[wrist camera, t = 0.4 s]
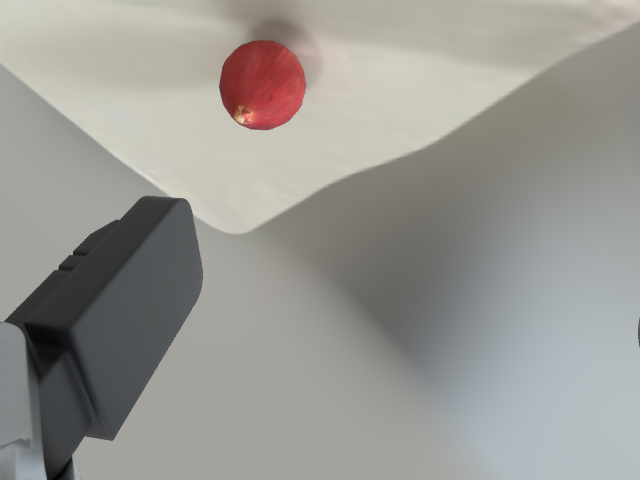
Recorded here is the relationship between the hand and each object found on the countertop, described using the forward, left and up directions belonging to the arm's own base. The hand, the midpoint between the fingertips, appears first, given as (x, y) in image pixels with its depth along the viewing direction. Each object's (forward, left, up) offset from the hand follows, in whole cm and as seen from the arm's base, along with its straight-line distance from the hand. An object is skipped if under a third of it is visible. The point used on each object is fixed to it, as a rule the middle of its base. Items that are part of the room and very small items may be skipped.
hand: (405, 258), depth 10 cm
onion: (+3, -19, -29) cm, 35 cm away
